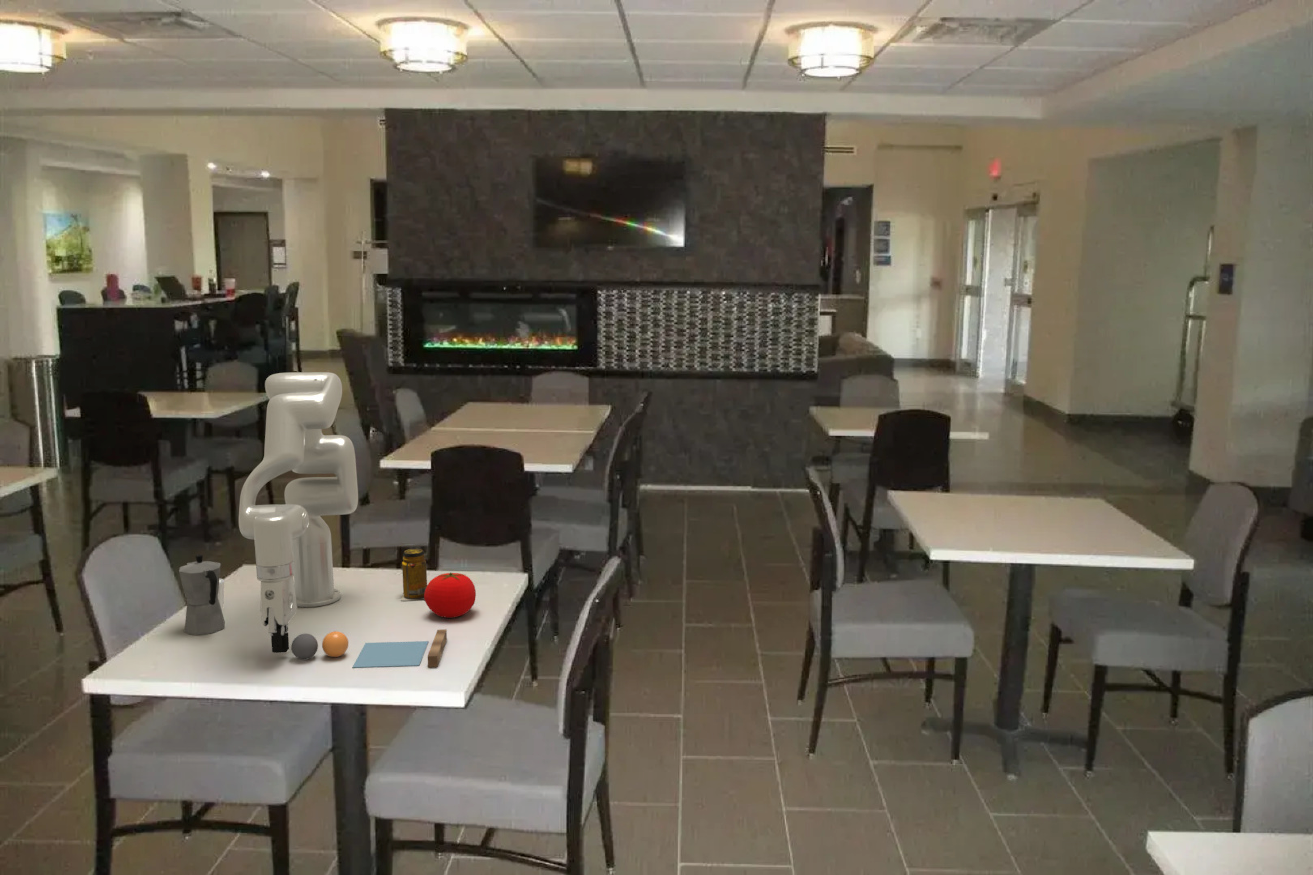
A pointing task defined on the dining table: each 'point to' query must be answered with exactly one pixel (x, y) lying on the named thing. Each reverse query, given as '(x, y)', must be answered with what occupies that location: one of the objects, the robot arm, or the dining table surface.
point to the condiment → (414, 575)
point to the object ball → (335, 644)
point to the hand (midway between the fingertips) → (280, 651)
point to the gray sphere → (304, 646)
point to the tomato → (450, 595)
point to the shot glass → (221, 592)
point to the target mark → (391, 654)
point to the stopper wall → (437, 648)
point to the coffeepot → (202, 597)
